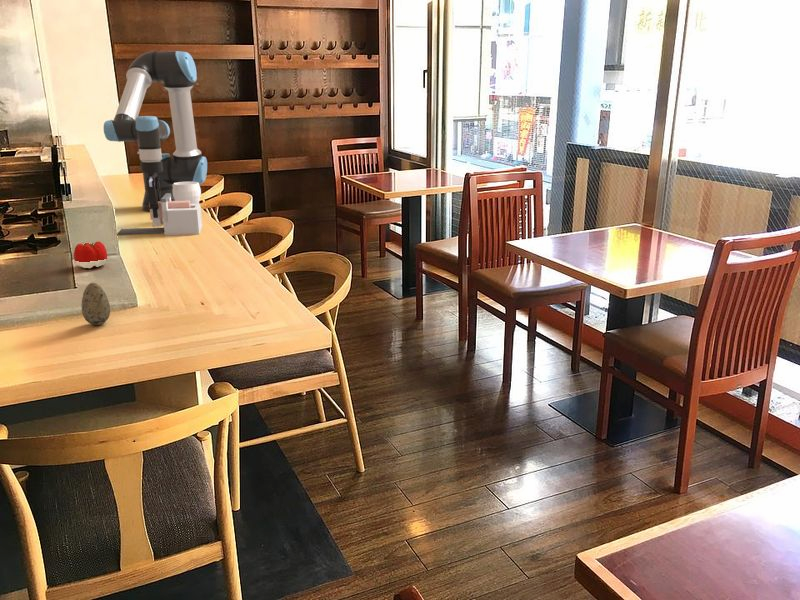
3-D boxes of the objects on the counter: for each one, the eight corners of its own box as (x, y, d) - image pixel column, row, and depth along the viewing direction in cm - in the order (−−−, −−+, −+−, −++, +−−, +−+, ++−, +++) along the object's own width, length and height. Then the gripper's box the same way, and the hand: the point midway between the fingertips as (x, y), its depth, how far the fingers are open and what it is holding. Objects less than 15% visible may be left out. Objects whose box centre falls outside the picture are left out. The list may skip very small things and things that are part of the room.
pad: (121, 230, 253) (121, 228, 252) (166, 228, 255) (166, 227, 255) (117, 235, 245) (117, 233, 245) (163, 233, 248) (163, 231, 248)
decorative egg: (84, 330, 152) (77, 288, 149) (84, 322, 158) (78, 281, 155) (112, 326, 155) (106, 285, 152) (111, 318, 160) (106, 278, 157)
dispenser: (169, 227, 257) (166, 193, 253) (202, 226, 259) (199, 192, 255) (164, 235, 245) (160, 199, 241) (199, 234, 247) (195, 198, 243)
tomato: (69, 269, 201) (66, 245, 199) (92, 262, 209) (88, 238, 207) (94, 272, 198) (91, 247, 196) (116, 265, 206) (113, 241, 204)
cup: (207, 218, 274) (204, 181, 270) (197, 224, 264) (193, 185, 259) (182, 218, 275) (178, 181, 271) (171, 223, 265) (167, 185, 260)
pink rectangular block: (152, 217, 250) (150, 201, 248) (191, 216, 253) (190, 200, 251) (150, 219, 247) (148, 203, 245) (190, 218, 249) (189, 202, 247)
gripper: (144, 158, 250) (151, 220, 257) (135, 163, 234) (143, 230, 241) (165, 157, 251) (171, 220, 258) (158, 163, 235) (165, 229, 242)
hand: (158, 224), depth 250 cm, fingers closed on pink rectangular block, 4 cm apart
